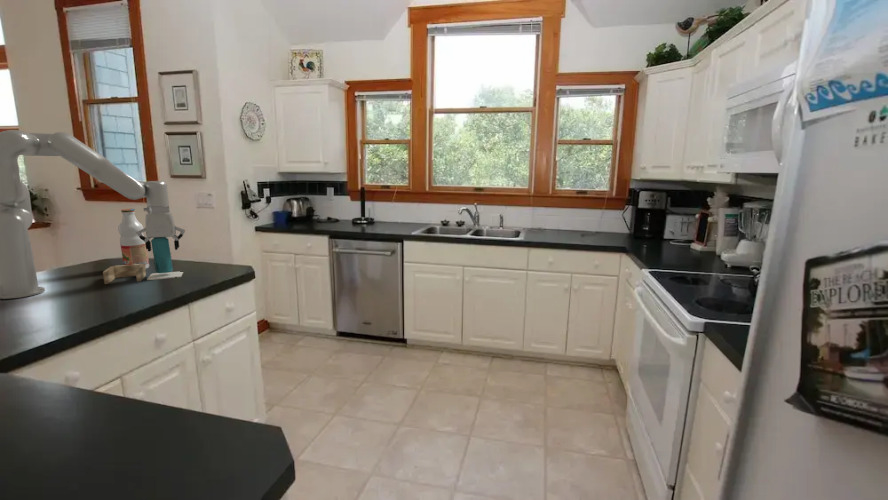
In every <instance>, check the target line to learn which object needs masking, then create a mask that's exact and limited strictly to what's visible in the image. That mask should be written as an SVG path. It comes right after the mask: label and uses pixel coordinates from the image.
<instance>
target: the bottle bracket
mask: <svg viewBox="0 0 888 500" xmlns="http://www.w3.org/2000/svg"><path fill="white" fill-rule="evenodd" d="M146 275H147V268H146V267H145V264H135V265H124V264H122V265H111V266H109V267H108V268H106V269H105V270H103V271H102V276H103V283H104V285H109V284H111V282H113V281H114V280H115V279H116V278H127V277H136V278H135V279H136V282H141V281H142V280H143V279H144V278H145V277H146Z"/></svg>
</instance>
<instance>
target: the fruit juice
mask: <svg viewBox="0 0 888 500" xmlns="http://www.w3.org/2000/svg"><path fill="white" fill-rule="evenodd" d="M120 212H121V214H122V221H121V223H120V224H119V225H118V233H119V235H120V238H119V244H120V250H121V251H120V252H121V257H122V262H123V265H135V264H145V267H146V269H148V268H149V267H150V260H149V253H148V252H149V251H148V249H146V244H145V242H144V241H143V240H142V239H140V237H139V236H138V235H137V234H136V232H137V231H139V230H142V229H144V226H143V224H142V223H141V222H139V220H138V219H137V217H136V214H135V213H136V209H135V208H123V209H121V210H120ZM142 235H143V236H144V237H145V235H144V232H142Z"/></svg>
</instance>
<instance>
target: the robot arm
mask: <svg viewBox="0 0 888 500" xmlns="http://www.w3.org/2000/svg"><path fill="white" fill-rule="evenodd" d="M20 156H24V157H25V156H28V157H32V156H34V157H35V156H37V157H39V156H40V157H61V158H63V159H64V160H66V161H68V162H69V163H71V164H72V165H74V166H75V167H77V168H78V169H80V170H82V171H83V172H84V173H87V174H88V175H90V176H91V177H92V178H94V179H96V180H98V181H99V182H101V183H102V184H104V185H107V187H109V188H110V189H112V190H114V191H116V192H118V193H119V194H120V195H122V196H123V197H125V198H127V199H129V200H134V201H135V200H139V199H143V198H146V205H147V207H143V212H147V213H145V219H144V220H145V227H143V229H142V230H139V231H137V232H136V234H137V235H138V236H139V237H140V239H142V240H143V241H144V242H145V244H146V249H147V252H151V251H152V243H151V239H153V238H160V237H166V238H172V239H174V241H173V243H174V245H173V246H174V250H175V251H177V250H178V249H179V248H180V242H179V241H180V239H181V238H183V236H184V234H185V232H186V229H183V228H181V227H178V226H176V225H175V220H174V216H173V214H172V213H171V212H170V201H169V194H168V193H169V192H168V185H167V183H166V182H165V181H162V180H149V181H142V180H136V179H134V178H133V177H131V175H129V174H127V173H125V171H122V170H121V169H120V168H118V167H117V166H115V165H114V164H113V163H112V162H111V161H110V160H108V158H106V156H104V155H102V154H100V153H99V152H97V151H96V150H94V149H93V148H91V147H89V146H88V145H87V144H85V143H84V142H82V141H80V140H79V139H78V138H76V137H75V136H73V135H72V134H70V133H67V132H63V131H57V132H54V133H41V132H40V133H39V132H25V131H23V130H19V129H8V130H3V131H0V300H1V299H3V300H5V299H6V300H7V299H18V298H19V299H20V298H25V297H26V298H27V297H31V296H35V295H39V294H42V293H44V292H45V291H46V289H45V287H43V286H39V282H38V277H37V270H36V264H35V259H34V252H33V248H32V243H31V238H30V235H29V231H28V229H30V228H31V226H32V224H33V211H32V203H31V196H30V191H29V189H28V187H27V186H26V184H25V183H24V182H22V181H21V175H20V167H19V162H18V158H19V157H20ZM157 231H158V232H157ZM176 231H178V232H180V233H179V235H177V233H176ZM142 232H143V233H144V232H145V235H146V237H145V235H144V234H143V235H144V236H143V235H142Z"/></svg>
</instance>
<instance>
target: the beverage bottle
mask: <svg viewBox="0 0 888 500" xmlns="http://www.w3.org/2000/svg"><path fill="white" fill-rule="evenodd" d="M157 232H158V231H157ZM150 242H151V250H152V254H153V255H152V256H153V264H154V270H155V273H168V272H174V263H173V259H172V258H173V257H172V253H171V248H170V241H169V237H160V238H151V239H150Z"/></svg>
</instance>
